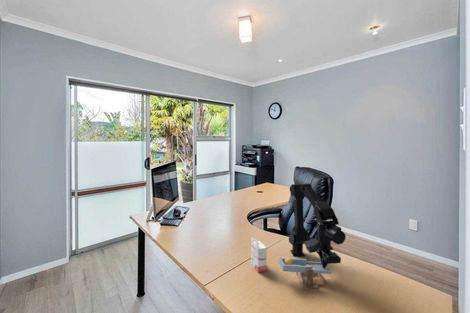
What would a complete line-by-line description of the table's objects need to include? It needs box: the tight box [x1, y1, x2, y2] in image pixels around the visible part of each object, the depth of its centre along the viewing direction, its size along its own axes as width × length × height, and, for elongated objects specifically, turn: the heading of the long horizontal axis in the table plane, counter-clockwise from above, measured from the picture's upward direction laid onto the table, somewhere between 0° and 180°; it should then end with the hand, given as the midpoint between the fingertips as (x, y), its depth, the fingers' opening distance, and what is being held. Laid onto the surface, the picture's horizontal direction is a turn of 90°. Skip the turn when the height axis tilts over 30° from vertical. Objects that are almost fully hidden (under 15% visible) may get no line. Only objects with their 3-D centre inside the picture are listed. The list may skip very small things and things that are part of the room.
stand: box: [295, 265, 319, 290], centre depth 101 cm, size 6×11×8 cm, turn 3°
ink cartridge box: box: [250, 236, 268, 273], centre depth 112 cm, size 9×5×15 cm, turn 21°
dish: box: [296, 272, 326, 286], centre depth 102 cm, size 10×7×3 cm
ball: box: [285, 257, 293, 265], centre depth 101 cm, size 4×4×4 cm
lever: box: [278, 257, 333, 275], centre depth 101 cm, size 22×7×3 cm, turn 93°
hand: (323, 267), depth 102 cm, fingers closed, pressing on lever
